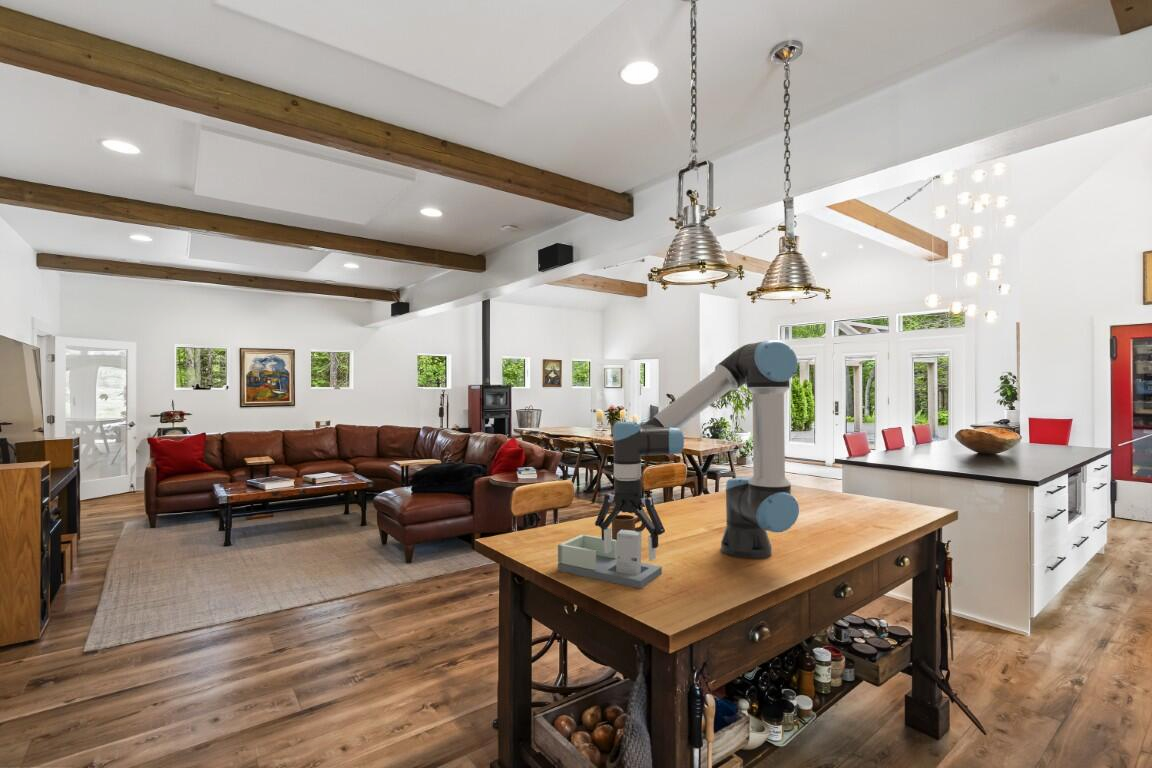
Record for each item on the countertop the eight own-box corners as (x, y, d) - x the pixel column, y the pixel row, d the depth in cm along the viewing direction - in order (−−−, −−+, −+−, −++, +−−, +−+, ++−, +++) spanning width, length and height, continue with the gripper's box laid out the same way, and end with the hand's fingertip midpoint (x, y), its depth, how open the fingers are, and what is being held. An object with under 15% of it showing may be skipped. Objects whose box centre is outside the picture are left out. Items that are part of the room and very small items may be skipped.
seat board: (661, 573, 151) (661, 566, 151) (640, 588, 140) (640, 580, 140) (582, 558, 165) (582, 551, 165) (557, 570, 154) (557, 563, 154)
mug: (641, 540, 183) (641, 512, 183) (651, 546, 176) (651, 517, 176) (608, 544, 180) (608, 515, 180) (617, 550, 172) (617, 520, 172)
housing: (617, 557, 158) (616, 540, 158) (594, 569, 147) (594, 551, 147) (582, 550, 165) (582, 534, 165) (557, 562, 154) (557, 544, 154)
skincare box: (615, 577, 148) (615, 533, 148) (620, 572, 152) (620, 529, 152) (637, 580, 146) (637, 535, 146) (642, 575, 150) (641, 531, 150)
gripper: (675, 479, 145) (677, 558, 145) (595, 473, 159) (597, 545, 159) (664, 484, 139) (666, 567, 139) (582, 477, 153) (583, 552, 153)
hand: (629, 555), depth 149 cm, fingers open, 13 cm apart
